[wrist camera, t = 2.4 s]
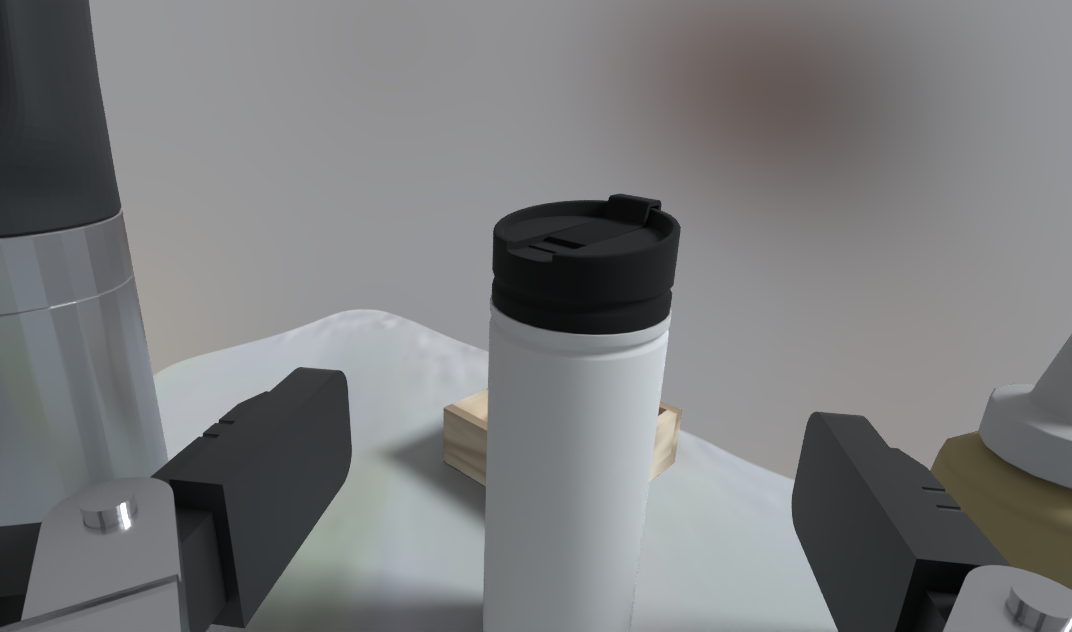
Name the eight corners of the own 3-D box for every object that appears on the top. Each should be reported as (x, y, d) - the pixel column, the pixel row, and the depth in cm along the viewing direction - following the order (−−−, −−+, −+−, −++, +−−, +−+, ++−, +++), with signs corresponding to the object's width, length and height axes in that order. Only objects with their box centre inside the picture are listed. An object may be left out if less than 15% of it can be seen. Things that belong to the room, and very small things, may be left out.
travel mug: (655, 651, 28) (723, 209, 21) (564, 761, 23) (611, 237, 16) (549, 580, 32) (576, 184, 25) (452, 661, 27) (452, 201, 20)
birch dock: (574, 541, 35) (580, 480, 33) (443, 461, 41) (443, 407, 40) (674, 462, 43) (682, 410, 41) (550, 405, 49) (553, 359, 48)
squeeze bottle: (1098, 889, 20) (1386, 396, 14) (831, 749, 24) (964, 316, 18) (1063, 700, 27) (1249, 304, 21) (857, 614, 31) (961, 260, 25)
